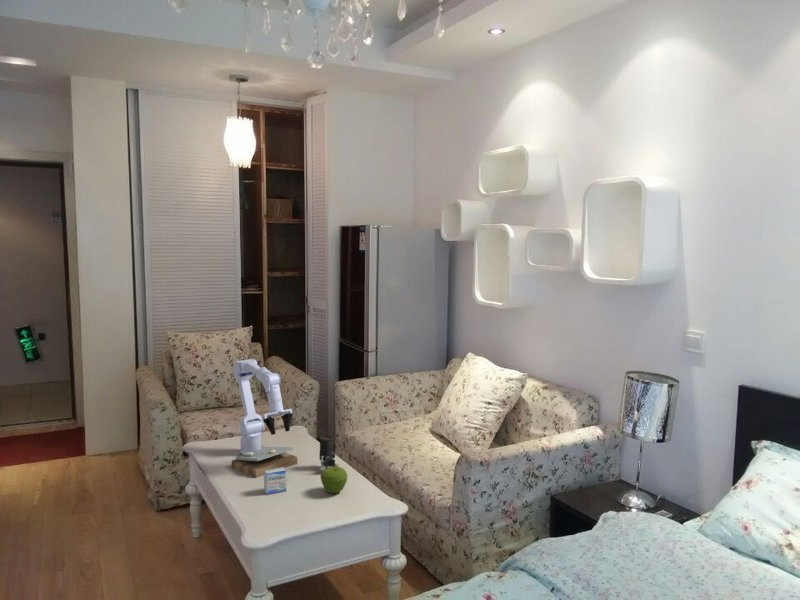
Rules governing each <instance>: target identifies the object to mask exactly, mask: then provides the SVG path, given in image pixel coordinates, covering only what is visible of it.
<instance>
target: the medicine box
mask: <svg viewBox="0 0 800 600" xmlns="http://www.w3.org/2000/svg"><path fill="white" fill-rule="evenodd" d="M263 482H264V483H263V488H264V489H263V491H264V492H265V493H266V495H273V494H278V493H283V491H284V492H287V469H286V468H283V467H281V468H276V469H270V470H264V475H263Z"/></svg>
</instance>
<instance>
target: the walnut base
mask: <svg viewBox="0 0 800 600" xmlns="http://www.w3.org/2000/svg"><path fill="white" fill-rule="evenodd" d="M297 464H298V456H295V455H294V454H290V453H288V452H284V453H281V454H278V455H275V456H272V457H269V458H266V459H263V460H260V461H246V460H236V458H235V459H232V460H231V468H232V469H235V470H237V469H238V470H237V471H239V470H240V472H241V473H244V472H245V473H244V474H246V473H247V475H249V476H250V477H253V478H259V477H262V476H263V477H264V470H270V469H276V468H281V467H283V468H284V469H286V468H288V466H289V467H292V466H293V465H297ZM285 467H286V468H285Z"/></svg>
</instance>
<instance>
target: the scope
mask: <svg viewBox="0 0 800 600" xmlns="http://www.w3.org/2000/svg"><path fill="white" fill-rule="evenodd" d="M318 458H319V460H320V466H319V469H320V471H321V472H322V471H323V470H325V469H327V468H328V467H340V466H339V463H336V460H335V458H336V454H335V452H333V436H332V435H322V436H320V437H319V457H318Z"/></svg>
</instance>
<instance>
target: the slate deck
mask: <svg viewBox="0 0 800 600" xmlns="http://www.w3.org/2000/svg"><path fill="white" fill-rule="evenodd" d="M293 450H294V447H293V446H292V447H291V446H289V447H288V446H268V447H264V448H261V450H258V451H254V452H244V453H243V454H240V455H239V456H236V457H235V459H236V460H246V461H260V460H263V459H266V458H269V457H272V456H275V455H278V454H281V453H284V452H285V453H288V452H291V451H293Z"/></svg>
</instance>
